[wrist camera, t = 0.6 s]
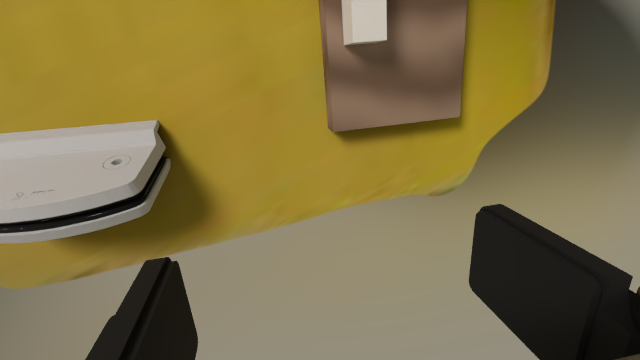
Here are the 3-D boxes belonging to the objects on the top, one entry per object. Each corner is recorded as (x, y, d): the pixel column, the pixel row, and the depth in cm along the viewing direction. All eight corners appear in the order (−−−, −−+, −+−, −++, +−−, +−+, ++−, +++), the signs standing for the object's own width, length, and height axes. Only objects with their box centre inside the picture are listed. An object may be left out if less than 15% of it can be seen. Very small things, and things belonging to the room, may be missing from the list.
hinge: (161, 119, 31) (137, 183, 24) (175, 159, 34) (157, 227, 27) (-36, 136, 29) (-135, 214, 21) (-3, 178, 32) (-79, 259, 24)
